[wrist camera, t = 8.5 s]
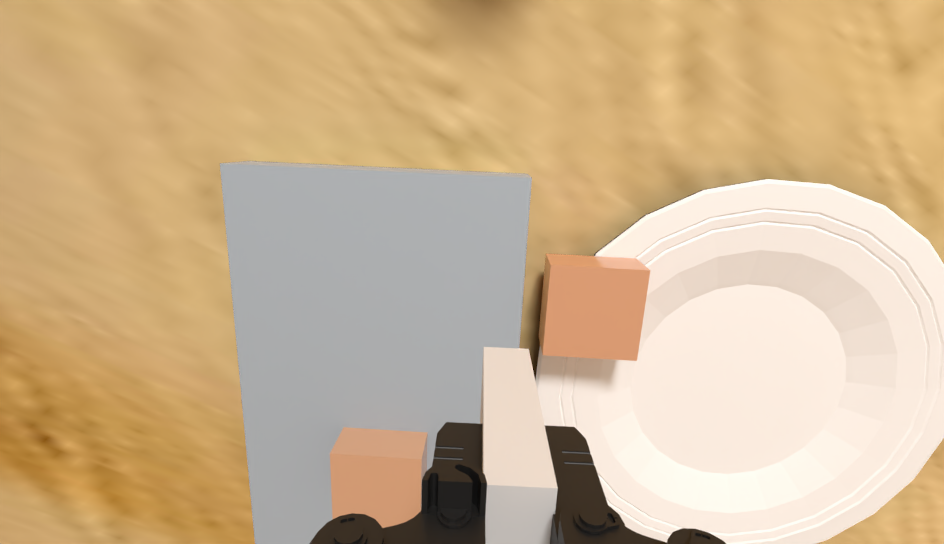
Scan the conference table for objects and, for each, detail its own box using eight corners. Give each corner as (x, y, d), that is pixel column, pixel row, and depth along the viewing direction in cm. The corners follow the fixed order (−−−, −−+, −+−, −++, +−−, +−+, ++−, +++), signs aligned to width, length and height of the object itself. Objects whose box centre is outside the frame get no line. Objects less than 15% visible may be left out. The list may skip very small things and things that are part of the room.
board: (275, 510, 34) (255, 544, 31) (248, 161, 28) (219, 163, 25) (502, 525, 34) (503, 561, 31) (527, 173, 27) (531, 177, 24)
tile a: (538, 336, 28) (542, 355, 26) (545, 253, 27) (550, 264, 25) (624, 341, 28) (637, 360, 26) (636, 258, 27) (650, 270, 24)
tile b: (345, 498, 30) (332, 529, 28) (343, 427, 29) (329, 453, 26) (426, 503, 30) (420, 535, 27) (427, 432, 28) (421, 459, 26)
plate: (901, 539, 33) (925, 563, 31) (533, 542, 34) (536, 564, 33) (984, 166, 27) (1021, 168, 25) (527, 186, 28) (529, 190, 26)
